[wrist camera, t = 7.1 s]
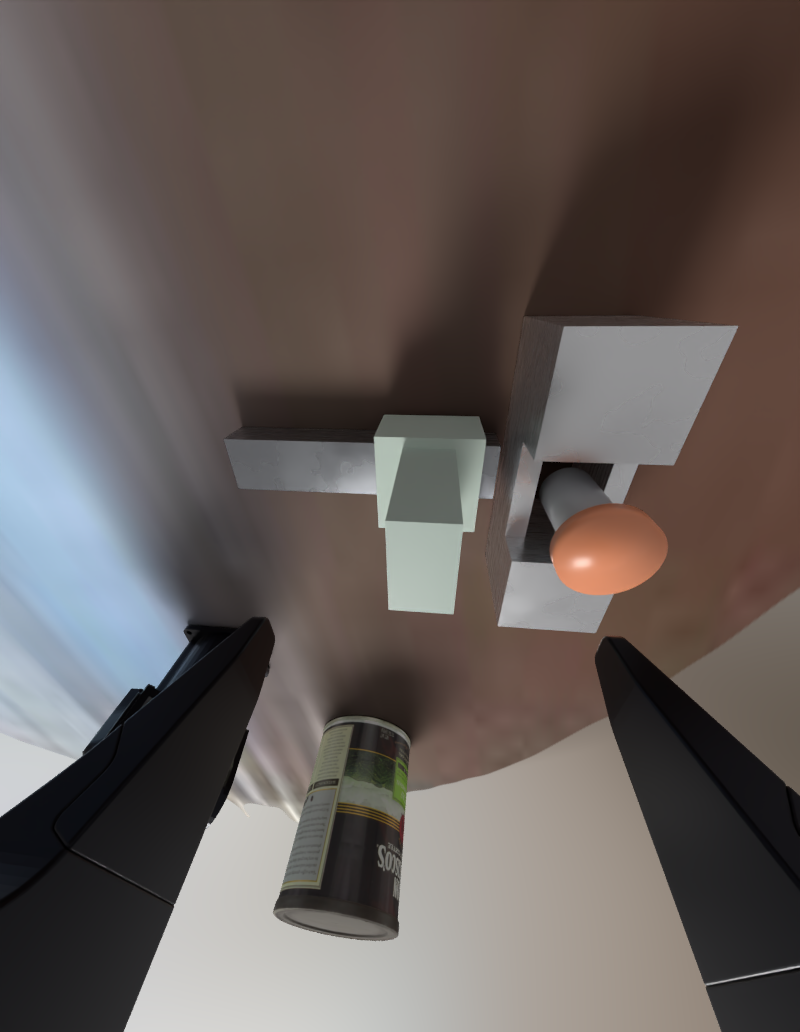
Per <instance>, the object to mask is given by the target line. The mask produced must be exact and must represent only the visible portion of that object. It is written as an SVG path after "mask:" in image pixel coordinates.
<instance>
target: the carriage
mask: <svg viewBox="0 0 800 1032" xmlns="http://www.w3.org/2000/svg"><path fill="white" fill-rule="evenodd" d="M485 446H486V437H485V434H484V431H483V428H482V424H481V421H480V418H479V416H429V415H384V416H383V418H382V420H381V422H380V425H379V427H378V429H377V431H376V433H375V435H374V448H375V467H376V486H377V504H378V523H379V528H385V531H386V556H387V581H388V606H389V610H399V611H414V612H428V613H443V614H453V613H454V605H455V596H456V587H457V578H458V569H459V560H460V551H461V542H462V533H463V532H474V528H475V521H476V513H477V506H478V499H479V491H480V484H481V476H482V469H483V461H484V454H485Z"/></svg>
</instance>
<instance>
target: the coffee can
mask: <svg viewBox="0 0 800 1032" xmlns="http://www.w3.org/2000/svg"><path fill="white" fill-rule="evenodd" d="M409 750H410V739H409V737H408V736H407V734H406V733H405V732H404V731H403V730H401V729H400V728H399V727H397V726H395V725H393V724H391V723H389V722H387V721H384V720H381V719H378V718H374V717H368V716H344V717H339V718H336V719H334V720H332V721H330V722H329V723H327V724H326V726H325V727H324V730H323V736H322V740H321V744H320V748H319V751H318V755H317V759H316V762H315V766H314V770H313V773H312V777H311V781H310V785H309V788H308V792H307V795H306V800H305V803H304V807H303V810H302V814H301V818H300V821H299V825H298V829H297V833H296V836H295V840H294V844H293V847H292V851H291V855H290V858H289V862H288V865H287V869H286V873H285V877H284V880H283V884H282V888H281V892H280V895H279V898H278V900H277V901H276V904H275V907H274V911H273V914H274V915H275V916H276V917H277V918H278V919H280V920H281V921H283V922H285V923H288V924H290V925H293V926H296V927H299V928H302V929H306V930H309V931H313V932H317V933H321V934H326V935H331V936H337V937H344V938H350V939H357V940H372V941H377V940H378V941H380V940H381V941H385V940H391V939H394V938H396V937H397V936H398V931H399V922H398V906H399V893H400V879H401V878H400V877H401V865H402V850H403V834H404V819H405V805H406V791H407V776H408V763H409Z"/></svg>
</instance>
